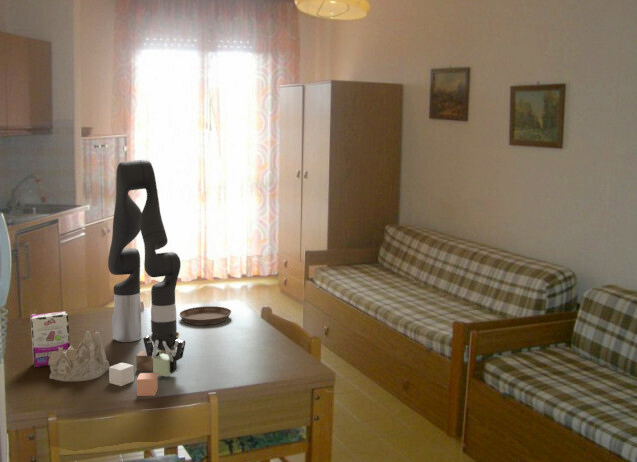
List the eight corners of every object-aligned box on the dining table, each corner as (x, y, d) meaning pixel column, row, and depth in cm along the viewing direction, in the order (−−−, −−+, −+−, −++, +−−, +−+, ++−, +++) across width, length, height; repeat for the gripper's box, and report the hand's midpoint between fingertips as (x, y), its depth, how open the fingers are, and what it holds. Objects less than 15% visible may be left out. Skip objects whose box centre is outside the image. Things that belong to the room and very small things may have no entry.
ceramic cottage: (116, 365, 214) (111, 320, 211) (89, 385, 198) (83, 337, 195) (73, 364, 217) (67, 320, 215) (43, 384, 201) (36, 337, 199)
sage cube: (153, 374, 202) (152, 358, 202) (162, 368, 207) (162, 353, 206) (167, 376, 201) (166, 360, 200) (176, 371, 205) (176, 355, 205)
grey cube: (109, 383, 199) (108, 367, 198) (122, 378, 203) (121, 362, 202) (121, 386, 196) (120, 370, 196) (133, 381, 201) (133, 365, 200)
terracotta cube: (137, 396, 189) (136, 379, 189) (140, 389, 194) (139, 373, 193) (155, 395, 190) (154, 379, 189) (157, 389, 195) (157, 372, 194)
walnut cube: (136, 370, 210) (136, 355, 209) (142, 365, 215) (141, 350, 214) (151, 371, 209) (151, 356, 208) (157, 365, 214) (156, 350, 213)
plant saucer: (169, 319, 268) (169, 311, 268) (212, 310, 282) (212, 303, 282) (197, 330, 253) (197, 322, 253) (241, 320, 267) (241, 312, 267)
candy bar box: (69, 358, 220) (66, 310, 217) (71, 363, 215) (68, 314, 213) (32, 363, 215) (29, 314, 212) (33, 368, 210) (31, 318, 208)
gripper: (136, 318, 200) (137, 371, 203) (177, 323, 195) (178, 378, 198) (150, 311, 207) (152, 363, 210) (190, 317, 202) (191, 370, 205)
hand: (164, 370), depth 204 cm, fingers closed on sage cube, 5 cm apart
